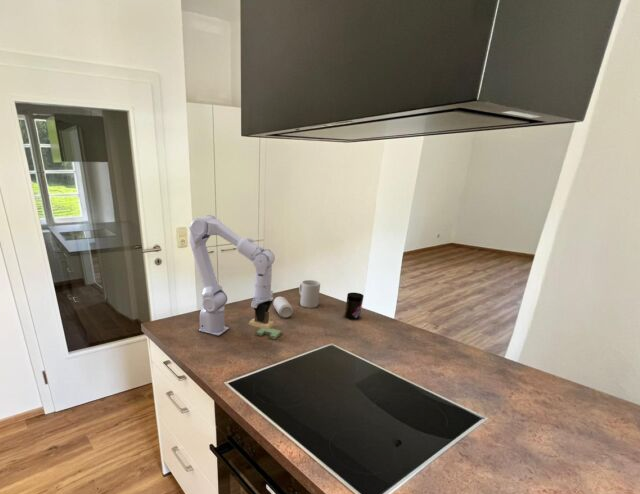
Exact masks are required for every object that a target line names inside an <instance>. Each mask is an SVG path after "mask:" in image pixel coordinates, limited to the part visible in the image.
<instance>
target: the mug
mask: <svg viewBox="0 0 640 494" xmlns="http://www.w3.org/2000/svg"><path fill="white" fill-rule="evenodd" d="M320 289H321V282H319V281H317V280H311V279H309V280H308V279H306V280H302V282H301V283H300V284H299V287H298V292H299V293H298V294H299V295H300V300H299V304H300V306H301V307H303V308H309V309H313V308H317V307H318V306H319V301H320V299H319V298H320V291H321V290H320Z"/></svg>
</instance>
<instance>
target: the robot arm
mask: <svg viewBox="0 0 640 494" xmlns="http://www.w3.org/2000/svg"><path fill="white" fill-rule="evenodd" d="M188 229H189V232H190V235H189V245H190V247H191V252H192V255H193V258H194V260H195V264H196V267H197V271H198V273H199V277H200V280H201V283H202V286H203V290H202V293H201V297H202V308H201V310H200V311H199V329H198V331H199V332H203V333H207V334H209V335H213V336H218V337H219V336H221V335H222V334H224V333H225V332H226V331H228V330H229V329H230V328H229V327H228V326H226V325H225V305H226V304H227V302H228V296H227V295H228V294H227V293H226V292H225V291H224V289H223V286H221V285H220V284H219V283H218V280H217V277H216V274H215V271H214V267H213V263H212V260H211V257H210V254H209V250H208V247H207V244H206V243H207V242H208V241H209V239H210V237H211V236H219V237H220V238H222V239H223V240H225V241H227V242H229V243H230V244H232V245H233V246H235V247H236V250H237V252H238V253H239V254H240V255H242V256H244V257H245V258H246V259H248V260H250V262H251V263H253V266H254V268H255V273H254V275H255V276H254V296H253V299H252V301H250V308H253V310H254V314H255V313H256V317H257V321H261V322H263V320H264V315H265V312H269V310H270V308H271V305H272V304H273V301H274V297H273V296H274V291H273V290H272V276H273V275H272V273H273V272H272V271H273V264H274V262H275V260H276V259H275V255H274V253H273V251H271V249H268V248H265V247H264V246H260V245H259V244H257V243H256V242H254V239H253V238H251V237H249V238H248V237H244V238H242V237H241V236H239V235H238V234H237V233H236V232H234V231H233V230H232V229H230V227H228V226H227V225H226V224H225V223H223V222H222V220H221V219H220V218H217V217H215V216H214V215H211V214H208V215H206V216H202V217H196V218H194V219H192V221H191V223H190V224H189V226H188Z"/></svg>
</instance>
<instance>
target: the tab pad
mask: <svg viewBox="0 0 640 494" xmlns="http://www.w3.org/2000/svg"><path fill="white" fill-rule="evenodd" d="M274 325H275V321H273V320H271V318H270V312H269V311H268V312H265V315H264V320H263V322H261V321H257V317H256V313H255V312H254V317H253V318H252V319H251V320H249V321H248V326H253V327H256V328H260V329H261V328H265V329H269V328H271V329H272V327H273V326H274Z"/></svg>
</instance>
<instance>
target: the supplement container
mask: <svg viewBox="0 0 640 494" xmlns="http://www.w3.org/2000/svg"><path fill="white" fill-rule="evenodd" d="M346 295H347V296H346V303H345V310H344V318H346V319H348V320H351V321H352V320H353V321H357V320H359V319H360V318H361V314H362V308H363V301H364V294H363V293H360V292H348V293H347V294H346Z"/></svg>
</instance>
